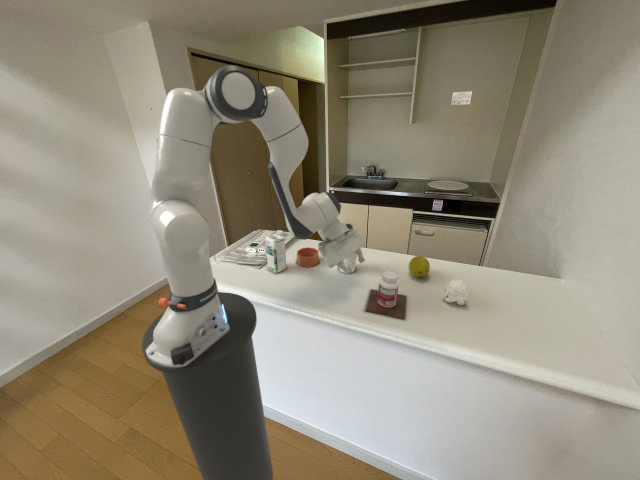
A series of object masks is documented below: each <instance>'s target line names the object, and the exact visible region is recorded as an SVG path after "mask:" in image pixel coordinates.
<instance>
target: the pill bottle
mask: <svg viewBox="0 0 640 480" xmlns="http://www.w3.org/2000/svg"><path fill="white" fill-rule="evenodd" d="M399 285H400V282H399V280H398V274H397V273H396V272H394V271H391V270H386V271H383V272H382V275H381V278H380V279H379V282H378V303H379V304H380V305H381V306H383V307H387V308H390V307H393V306H395V305H396V301H397V294H399Z"/></svg>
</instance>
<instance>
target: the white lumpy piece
mask: <svg viewBox="0 0 640 480" xmlns="http://www.w3.org/2000/svg"><path fill="white" fill-rule="evenodd" d="M469 292H470V291H469V287H468V285H467V283H465V282H464V281H463V280H462V279H458V278H456V279H452V280H451V281H450V280H449V282H448V284H447V286H446V292H445V297H447V298H444V301H445V302H447V303H450V304H451V303H455V302H456V303H457V305H460V306H464V305H465V301H467V300H468V297H469V295H470V293H469Z"/></svg>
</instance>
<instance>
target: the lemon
mask: <svg viewBox="0 0 640 480" xmlns="http://www.w3.org/2000/svg"><path fill="white" fill-rule="evenodd" d="M430 266H431V265H430V262H429V260H428V258H426V257H424V256H422V255H416V256H413V257H412V258H411V259H410V261H409V262H408V271H409V272H410V274H411V275H412V276H414V277H416V278H424V277H426V276H427V275H428V274H429V272H430V269H431V268H430Z"/></svg>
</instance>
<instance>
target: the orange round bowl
mask: <svg viewBox="0 0 640 480" xmlns="http://www.w3.org/2000/svg"><path fill="white" fill-rule="evenodd" d="M319 252H320V251H319V249H318V248H315V247H302V248H300V249H298V250H297V251H296V263H297V264H298V265H299V266H300V267H305V268H309V267H315V266H316V265H318V264H319V261H320V257H319V256H320V253H319Z"/></svg>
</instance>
